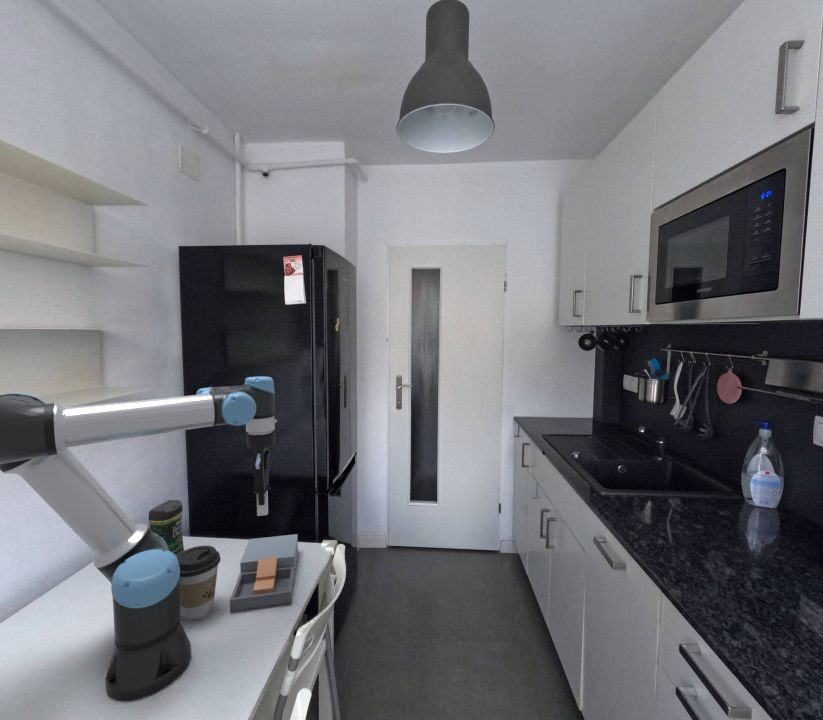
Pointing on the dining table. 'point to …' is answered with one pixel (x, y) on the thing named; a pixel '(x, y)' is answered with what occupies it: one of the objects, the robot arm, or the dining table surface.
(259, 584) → the tile front
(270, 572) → the tile rear
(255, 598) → the box
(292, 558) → the blue-grey square block
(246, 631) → the dining table surface
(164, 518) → the coffee jar
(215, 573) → the coffee cup
